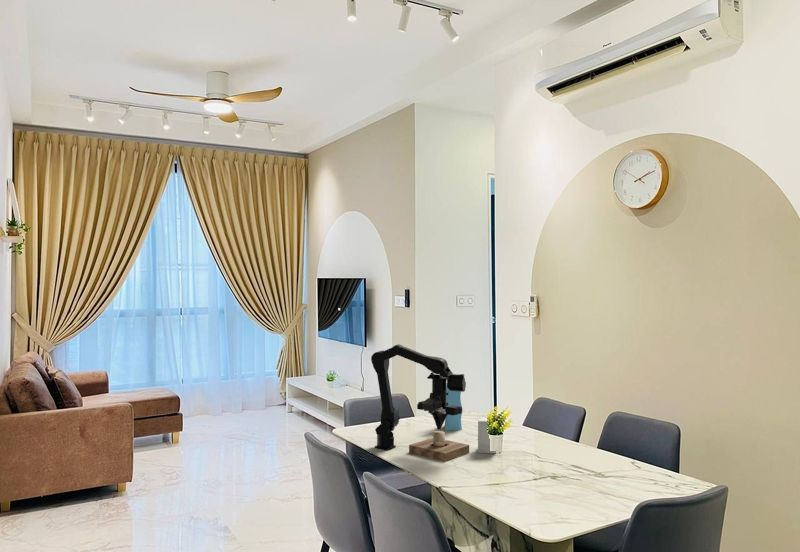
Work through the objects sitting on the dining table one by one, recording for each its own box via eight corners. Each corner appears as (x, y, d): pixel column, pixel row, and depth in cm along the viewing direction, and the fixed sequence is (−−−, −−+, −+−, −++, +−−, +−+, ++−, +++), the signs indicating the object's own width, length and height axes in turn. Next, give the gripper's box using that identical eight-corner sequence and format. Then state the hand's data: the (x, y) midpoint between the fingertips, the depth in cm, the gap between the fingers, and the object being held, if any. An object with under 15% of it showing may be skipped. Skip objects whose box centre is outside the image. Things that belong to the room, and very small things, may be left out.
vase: (462, 430, 279) (462, 386, 279) (445, 430, 279) (445, 386, 279) (460, 426, 287) (461, 383, 287) (444, 426, 287) (444, 383, 287)
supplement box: (496, 453, 240) (496, 421, 241) (477, 452, 242) (477, 421, 242) (497, 448, 248) (497, 417, 248) (478, 447, 249) (478, 417, 249)
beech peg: (430, 452, 242) (430, 432, 242) (438, 450, 245) (437, 430, 245) (440, 454, 239) (439, 434, 239) (447, 452, 242) (447, 432, 242)
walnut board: (409, 452, 242) (409, 444, 242) (433, 444, 254) (433, 437, 254) (445, 461, 230) (445, 453, 230) (469, 452, 242) (469, 444, 242)
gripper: (408, 390, 242) (408, 429, 242) (445, 395, 230) (445, 437, 230) (425, 386, 251) (425, 424, 251) (462, 392, 239) (462, 431, 238)
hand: (439, 429), depth 242 cm, fingers closed
